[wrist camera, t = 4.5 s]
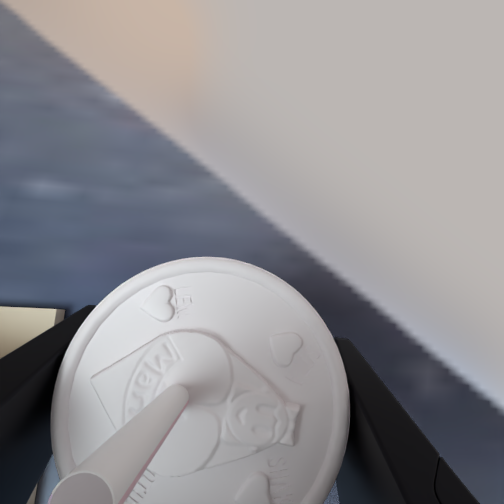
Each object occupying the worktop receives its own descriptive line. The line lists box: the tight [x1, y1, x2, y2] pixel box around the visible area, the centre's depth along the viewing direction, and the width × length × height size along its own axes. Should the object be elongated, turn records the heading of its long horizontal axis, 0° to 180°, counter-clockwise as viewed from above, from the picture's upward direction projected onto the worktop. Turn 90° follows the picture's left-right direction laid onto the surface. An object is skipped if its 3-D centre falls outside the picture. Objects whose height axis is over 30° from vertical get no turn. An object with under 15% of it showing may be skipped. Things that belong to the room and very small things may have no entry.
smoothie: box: [48, 257, 350, 504], centre depth 10 cm, size 6×6×14 cm
